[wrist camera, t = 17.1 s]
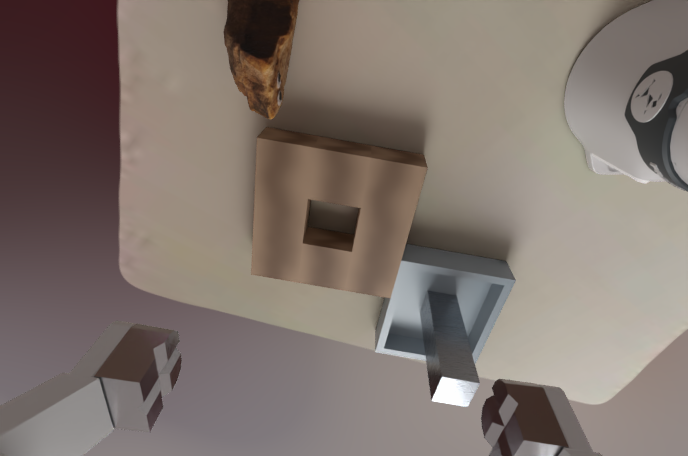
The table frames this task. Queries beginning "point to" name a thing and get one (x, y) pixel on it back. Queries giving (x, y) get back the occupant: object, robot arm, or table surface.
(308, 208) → the block
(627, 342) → the table surface
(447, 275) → the tray
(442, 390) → the pin
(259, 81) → the decorative rock
